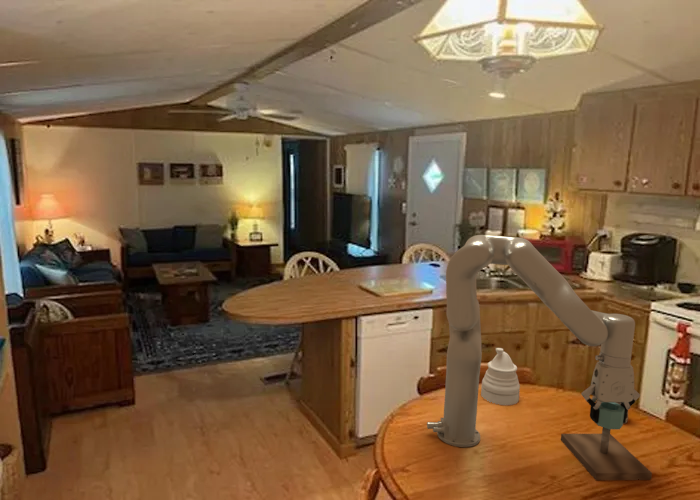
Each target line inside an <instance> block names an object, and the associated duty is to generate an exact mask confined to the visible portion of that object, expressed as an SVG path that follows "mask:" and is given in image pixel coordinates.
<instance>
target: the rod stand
mask: <svg viewBox="0 0 700 500" xmlns="http://www.w3.org/2000/svg"><path fill="white" fill-rule="evenodd" d="M611 430H612V429H607V428H604V427H602V431H601V433H561V434H560V440H561V443H563V444H564V445H565V447H566V448H567V449H568V450H569V451H570V452H571V454H572V455H573V456H574V457H575V458H576V459H577V460H578V462H579V463H580V464H581V465H582V467H584V468H585V470H586V471H587V472H588V473H589V474H590V476H592V478H593V479H594V480H595V481H651V480H652V475H653V472H652V470H649V469H648V467H646V466H645V464H643V463H642V462H641V461H640V460H639V459H638V458H637V457H635V456H634V454H632V452H630V451H629V450H628V448H626V447H625V446H624V445H623V444H622V443H621V442H619V441H618V440H617V439H616V438H615V437H614V436H613V435H612V434H611ZM638 479H639V480H638ZM650 479H651V480H650Z"/></svg>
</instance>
